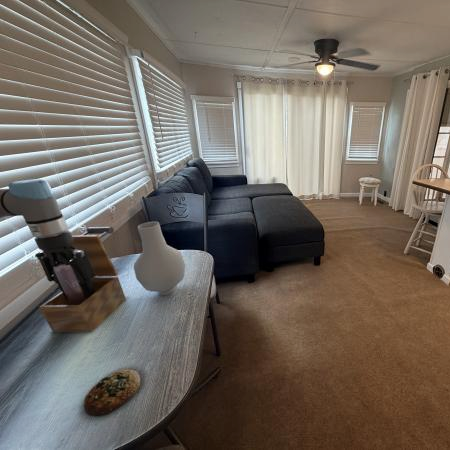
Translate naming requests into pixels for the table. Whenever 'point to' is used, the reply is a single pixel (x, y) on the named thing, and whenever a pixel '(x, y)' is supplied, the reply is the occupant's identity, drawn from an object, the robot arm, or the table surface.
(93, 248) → the chest lid
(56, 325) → the chest
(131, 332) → the table surface
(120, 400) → the bread roll
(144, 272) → the vase
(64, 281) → the beverage can
